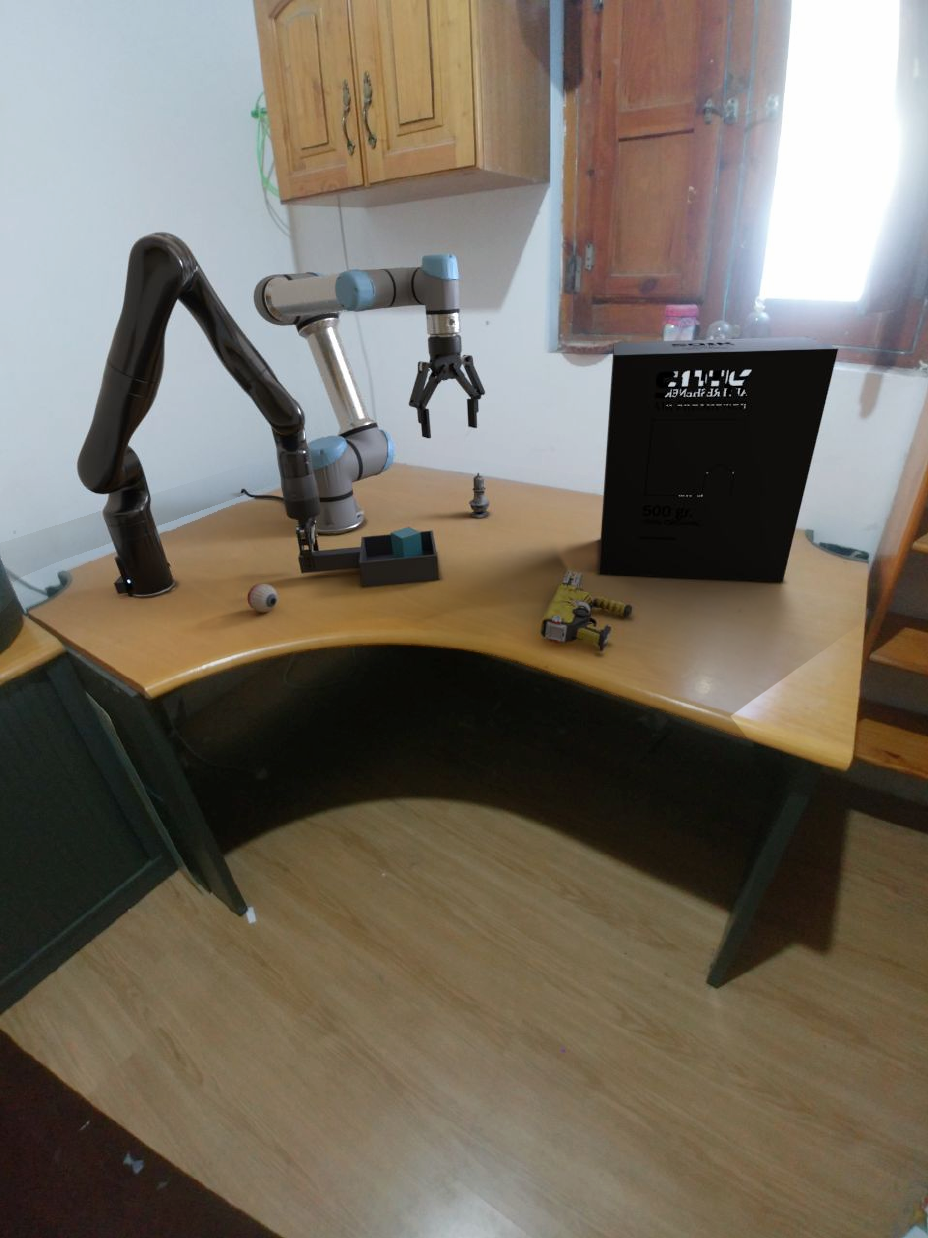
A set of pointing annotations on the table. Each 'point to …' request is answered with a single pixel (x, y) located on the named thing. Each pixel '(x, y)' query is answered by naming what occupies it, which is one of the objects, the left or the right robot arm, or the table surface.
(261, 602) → the eyeball
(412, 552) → the block
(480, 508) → the stone chess piece
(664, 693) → the table surface
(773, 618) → the table surface
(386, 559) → the tray
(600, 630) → the toy gun
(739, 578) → the cardboard box
